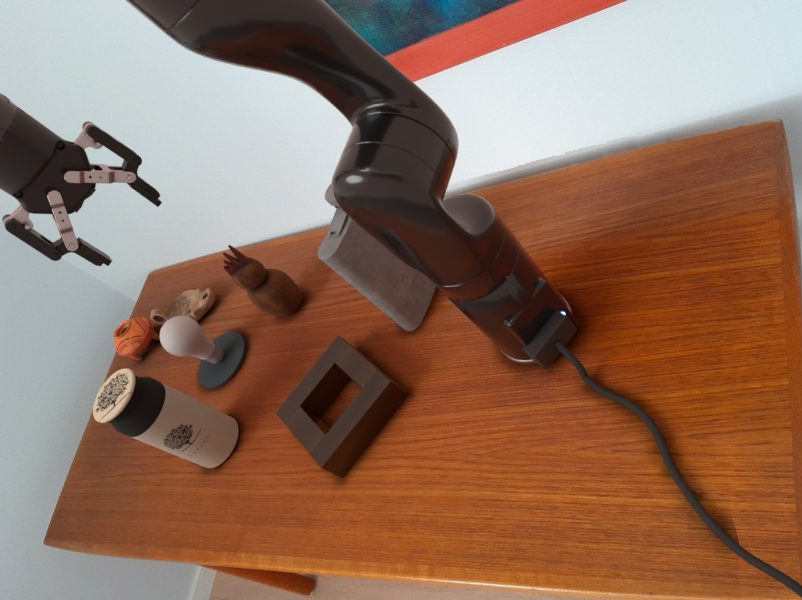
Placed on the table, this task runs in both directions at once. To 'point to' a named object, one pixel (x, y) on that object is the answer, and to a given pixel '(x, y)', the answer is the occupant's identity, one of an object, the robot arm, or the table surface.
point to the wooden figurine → (264, 284)
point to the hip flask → (375, 270)
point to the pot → (134, 337)
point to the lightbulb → (188, 340)
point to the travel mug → (165, 418)
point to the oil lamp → (186, 306)
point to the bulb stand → (358, 420)
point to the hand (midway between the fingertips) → (133, 231)
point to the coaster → (224, 361)
